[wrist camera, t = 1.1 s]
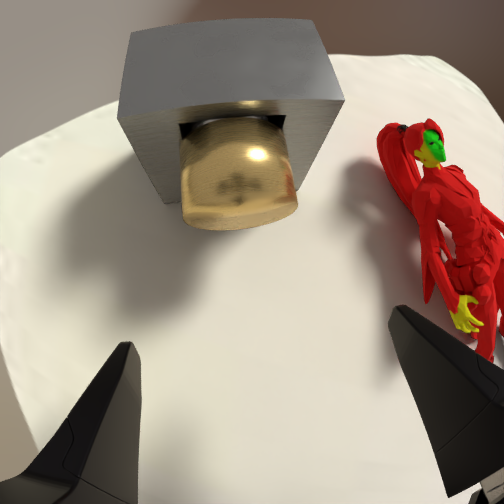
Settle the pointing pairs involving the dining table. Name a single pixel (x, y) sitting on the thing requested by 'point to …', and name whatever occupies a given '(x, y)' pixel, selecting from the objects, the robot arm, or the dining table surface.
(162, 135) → the housing
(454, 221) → the figurine
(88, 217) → the dining table surface
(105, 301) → the dining table surface
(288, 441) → the dining table surface
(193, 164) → the gold cylindrical piece
